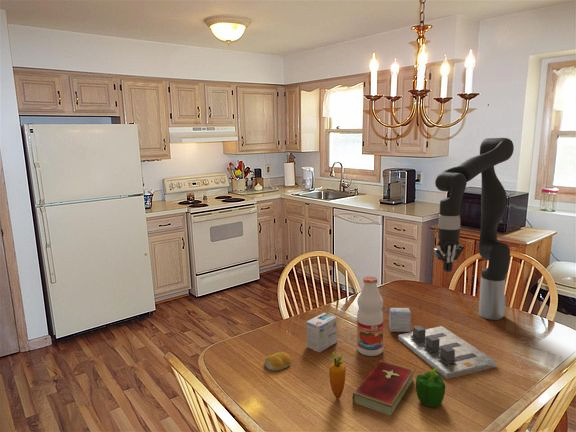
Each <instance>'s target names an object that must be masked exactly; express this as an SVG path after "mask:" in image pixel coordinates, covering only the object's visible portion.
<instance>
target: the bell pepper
mask: <svg viewBox="0 0 576 432" xmlns="http://www.w3.org/2000/svg"><path fill="white" fill-rule="evenodd" d="M436 372H437V369H435V368H434V369H433V368H432V369H431V371H426V372H424V373H423V374H417V376H416V379H415V393H416V395H417V399H418V400H419V402H420V403H421V404H422V405H424V406H428V407H430V408H432V409H434V408H438V407H440V406H441V404H442V403H443V401H444V398H445V394H446V384H445V381H444V379H443V376H442V375H441V374H437V373H436Z"/></svg>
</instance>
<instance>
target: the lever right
mask: <svg viewBox="0 0 576 432" xmlns="http://www.w3.org/2000/svg"><path fill="white" fill-rule="evenodd" d="M412 332H413V335H411V338H413V339H414V340H415V341H417V342H419V341H424V340H426V337H425V332H426V328H424V327H423V326H421V325H415V326H412Z"/></svg>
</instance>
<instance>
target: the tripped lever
mask: <svg viewBox="0 0 576 432" xmlns="http://www.w3.org/2000/svg"><path fill="white" fill-rule="evenodd" d="M438 359H440V360H441V361H442V362H444V363H445V364H448V363H453V362H457V360H456V359H455V350H454V349H453V348H451V347H450V346H448V345H447V346H442V347H441V349H440V356H438Z"/></svg>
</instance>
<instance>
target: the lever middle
mask: <svg viewBox="0 0 576 432" xmlns="http://www.w3.org/2000/svg"><path fill="white" fill-rule="evenodd" d="M439 341H440V339H439V338H437V337H436V336H434V335H430V336H426V345H424V348H426V349H427V350H428V351H430V352H435V351H440V349H441V348H440V347H439Z"/></svg>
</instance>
